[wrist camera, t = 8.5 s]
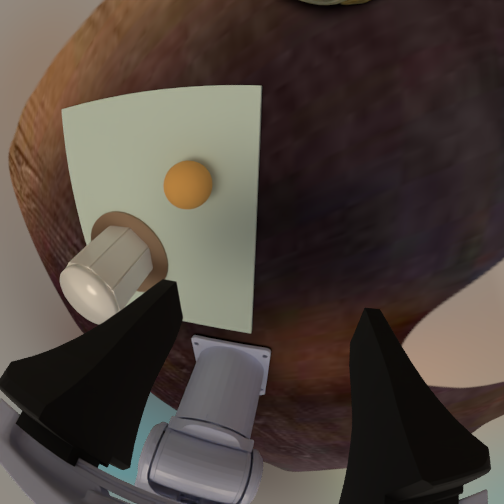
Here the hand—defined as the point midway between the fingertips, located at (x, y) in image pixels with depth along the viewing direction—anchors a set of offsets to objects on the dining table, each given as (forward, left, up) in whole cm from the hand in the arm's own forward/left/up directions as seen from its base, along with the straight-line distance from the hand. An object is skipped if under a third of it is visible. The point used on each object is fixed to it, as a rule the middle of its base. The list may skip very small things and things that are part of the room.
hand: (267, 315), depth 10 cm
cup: (-5, +13, -9) cm, 16 cm away
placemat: (-2, +10, -9) cm, 14 cm away
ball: (+2, +6, -8) cm, 10 cm away
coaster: (-5, +13, -9) cm, 17 cm away
